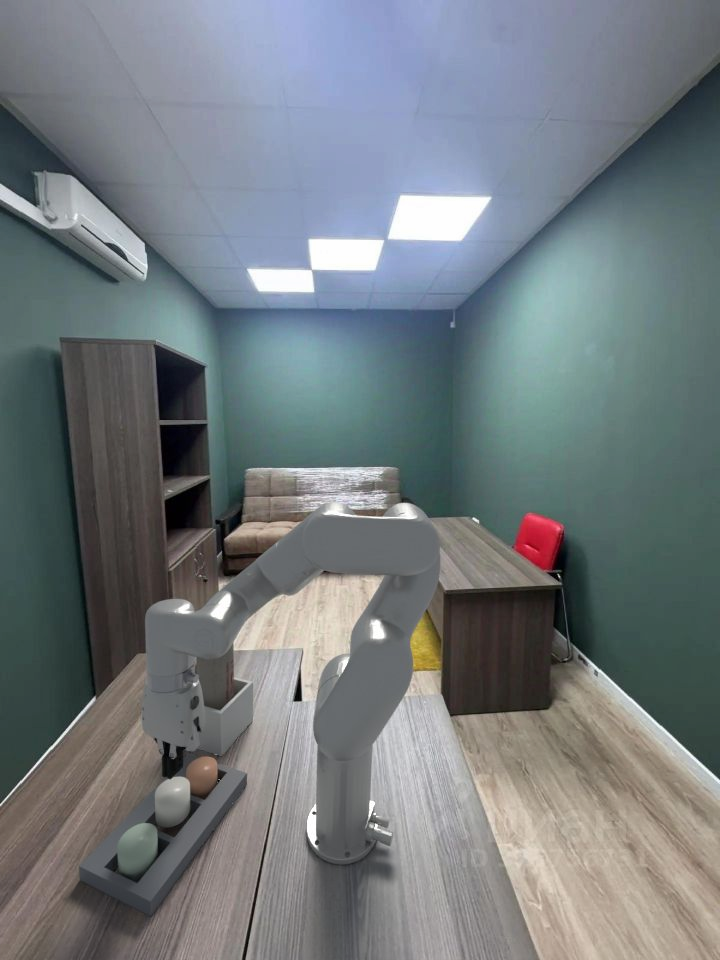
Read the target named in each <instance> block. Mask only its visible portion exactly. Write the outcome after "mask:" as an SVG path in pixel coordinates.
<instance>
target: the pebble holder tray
mask: <svg viewBox="0 0 720 960" xmlns="http://www.w3.org/2000/svg"><path fill="white" fill-rule="evenodd" d="M198 758H200V756H198V755H196V754H195V755H194V754H193V753H188V754H187V755H186V756H185V757H183V767H182V769H181V770H180V771H179V772H178V773H177V774H176V775H175V776H174V777H184V778H186V770H187V767H188V766H189V764H190V763H191V762H192V761H194V760H196V759H198ZM217 777H218V779H220V780H221V781H219V782H218V784H217V786H216V787H215V788H214V789H213V791H212V792H211V793H210V794H209V795H208V797H207V798H206V799H205V800H204V799H201V798H198V797H196V796H193V795H190V812H189V813H192V815H191V817H190V818H189V819H188V820H187V822H186V823H185V824H184V825H183V826H182V827H181V829H180V830H179V831H178V832H177V834H176V835H175V837H174V836H172V835H170V834H168V833H165V832H163V831H160V830H158V829H157V837H158V852H160V855H158V858H157V860H156V861H155V862H154V863H153V865H152V866H151V867H150V868H149V870H148V871H147V872H146V873H145V875H144V876H143V877H142V878H141V879H140V881H137V882H134V881H131V880H129V879H127V878H125V877H123V876H121V875H119V874H118V873H117V872H115V870H117V869H118V854H117V845H118V842H119V840H120V838H121V837H122V835H123V834H124V833H125V832H126V831H127V830H129V829H130V828H132V827H133V826H135V825H138V824H142V823H150V824H153V825H154V826H156V824H157V823H156V819H155V792H156V790H157V788H158V787H159V785H160V784H161V783H163V782H164V781H166V780H167V779H168V778H167V777H163V779H162V780H161V781H160V782H159V783H158V784H157V785H156V786H155V788H153V790H152V791H151V792H149V794H148V795H146V797H145V798H144V799H143V800H142V801H141V802H140V803H139V804H138V805H137V806H136V807H135V808H134V809H132V811H131V812H130V813H129V814H127V816H126V817H125V818H124V819H123V820H122V821H121V822H120V823H119V824H118V825H117V826H116V827H115V828H114V829H113V831H111V832H110V834H108V836H106V838H104V840H103V841H102V842H101V843H99V845H97V847H96V848H95V849H94V850H93V851H92V852H91V853H90V854H89V855H88V856H87V857H86V858H85V859H84V860H83V861H82V862H81V863H80V864H79V865H78V873H79V881H80V882H83V883H84V884H87V885H89V886H91V887H92V888H94V889H96V890H98V891H100V892H102V893H105V894H106V895H108V896H110V897H111V898H114V899H116V900H118V901H120V902H121V903H124V904H125V905H128V906H130V907H131V908H134V909H136V910H138V911H140V912H141V913H143V914H145V915H147V916H149V917H152V916H153V915H154V913H155V912H156V910H157V909H158V908H159V906H160V905H161V904H162V902H163V900H165V898H166V897H167V895H168V894H169V893H170V891H171V890H172V889H173V887H174V885H176V883H177V882H178V880H179V879H180V878H181V876H182V875H183V874H184V872H185V871H184V870H186V869H187V868H188V866H189V865H190V864H191V862H192V861H193V859H194V858H195V857H196V855H197V854H198V853H197V851H198V850H199V849H200V850H201V848H202V847H203V846H204V844H205V843H206V842H207V840H208V839H209V837H210V836H211V835H212V833H213V832H214V831H213V829H214V828H215V827H216V828H217V826H218V825H219V824H220V822H221V821H222V820H221V818H222V817H223V816H224V817H225V815H226V814H227V813H226V812H228V811H229V810H230V809H229V808H231V807H232V806H233V804H234V803H235V802H234V801H236V800H237V799H238V798H239V796H240V795H239V794H241V793H242V792H243V791H242V790H244V789H245V788H246V786H247V785H248V773H247V772H245V771H242V770H239V769H237V768H234V767H229V766H227V765H224V764H221V763H218V762H217ZM238 795H239V796H238ZM237 797H238V798H237ZM236 798H237V799H236ZM233 802H234V803H233ZM232 803H233V804H232ZM231 805H232V806H231ZM230 806H231V807H230ZM228 809H229V810H228ZM227 810H228V811H227ZM225 813H226V814H225ZM224 814H225V815H224ZM224 817H223V818H224ZM223 818H222V819H223ZM220 820H221V821H220ZM219 821H220V822H219ZM218 823H219V824H218ZM217 824H218V825H217ZM216 828H215V829H216ZM215 829H214V830H215ZM212 831H213V832H212ZM211 832H212V833H211ZM210 834H211V835H210ZM209 835H210V836H209ZM208 836H209V837H208ZM207 838H208V839H207ZM206 839H207V840H206ZM205 841H206V842H205ZM204 842H205V843H204ZM203 843H204V844H203ZM202 845H203V846H202ZM201 846H202V847H201ZM200 847H201V848H200ZM200 850H199V851H200ZM199 851H198V852H199ZM196 853H197V854H196ZM195 854H196V855H195ZM194 856H195V857H194ZM193 857H194V858H193ZM191 860H192V861H191ZM190 861H191V862H190ZM189 863H190V864H189ZM188 864H189V865H188ZM186 867H187V868H186ZM183 871H184V872H183Z"/></svg>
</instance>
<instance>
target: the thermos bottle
mask: <svg viewBox="0 0 720 960" xmlns="http://www.w3.org/2000/svg"><path fill="white" fill-rule="evenodd" d="M234 643H235V641H234V642H233V644H232V645H231V647H230V649H229V650H228V651H227V652H226V653H225V654H224V655H223V656H221V657H219V658H217V659H201V658H197V657H195V663H196V669H197V674H198V675H199V679H198V680H199V682H200V685H201V689H202V694H203V701H204V706H206V707H210V708H213V709H217V710H221V709H222V708H223V707H224V706H225V705H226V704H227V703H228V702H229V701H231V700H232V699H233V698H234V677H235V673H234V672H235V671H234V670H235V667H234V666H235V665H234V664H235V663H234V661H235V660H234V658H235V657H234V656H235V655H234Z"/></svg>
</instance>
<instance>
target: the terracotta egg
mask: <svg viewBox="0 0 720 960" xmlns="http://www.w3.org/2000/svg"><path fill="white" fill-rule="evenodd" d="M199 757H200V756H199ZM217 763H218V761H217V760H216V759H215V757H211V756H201V757H200V758H198V759H196V760H194V761H192V762H191V763H190V764H189V766H188V767H187V770H186V779H188V781H189V782H190V795H193V796H196V797H198V798H201V799H204V800H205V799H206V798H207V797H208V795H209V794H210V793H211V792H212V791H213V789H214V788H215V787H216V786H217V784H218V783H219V782H218V777H217Z"/></svg>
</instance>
